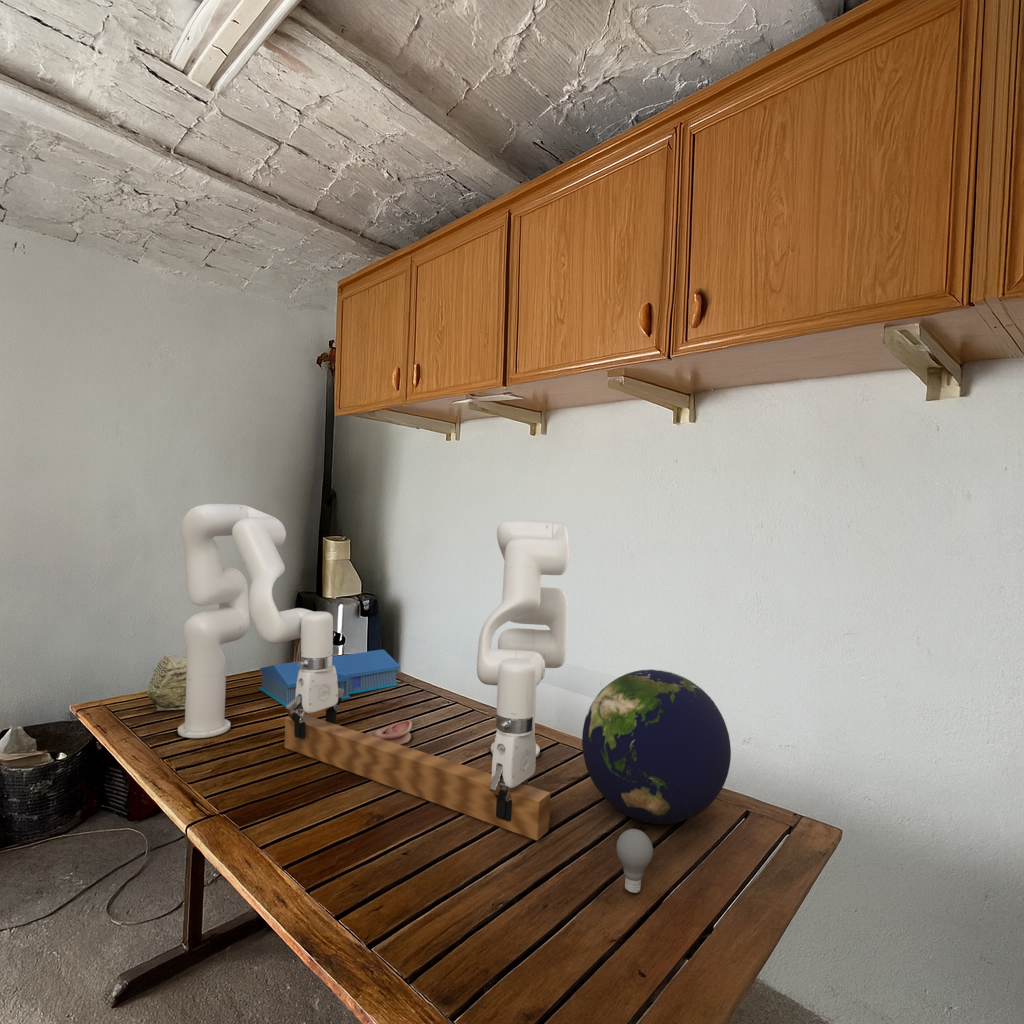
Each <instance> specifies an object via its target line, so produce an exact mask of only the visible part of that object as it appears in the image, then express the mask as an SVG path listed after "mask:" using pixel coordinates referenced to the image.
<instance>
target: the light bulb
mask: <svg viewBox="0 0 1024 1024" xmlns="http://www.w3.org/2000/svg"><path fill="white" fill-rule="evenodd" d="M615 849H616V854H617V857H618V859H619V861H620V863H621V865H622V867H623V873H624V874H623V875H624V876H625V878H624V888H625V890H627V891H628V892H630V893H634V894H635V893H639V892H640V891H641V889H642V887H641V886H642V879H643V877H644V875H645V871H646V868H647V867H648V866H649V864H650V863H651V861H652V859H653V855H654V847H653V843H652V841H651V838H649V836H648V835H647V834H646V833H645V832H643V831H642V830H641V829H636V828H629V829H627V830H625V831H623V832H622V833H621V834H620V835H619V837H618V839H617V841H616V847H615Z"/></svg>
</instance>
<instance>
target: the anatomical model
mask: <svg viewBox="0 0 1024 1024" xmlns="http://www.w3.org/2000/svg"><path fill="white" fill-rule="evenodd" d="M412 728H413V722H412V721H411V720H409V719H408V720H402V721H399V722H395V723H392V724H389V725H386V726H384V727H381V728H378V729H374V730H370V731H367V732H364V733H365V734H368V735H371V736H374V737H377V738H380V739H383V740H387V741H390V742H393V743H396V744H399V745H404V744H406V743H408V742H410V740H411V739H412V734H411V733H410V732H411V730H412Z"/></svg>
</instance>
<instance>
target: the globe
mask: <svg viewBox="0 0 1024 1024" xmlns="http://www.w3.org/2000/svg"><path fill="white" fill-rule="evenodd" d="M581 748H582V756H583V759H584V764H585V767H586V770H587V772H588V775H589V777H590V779H591V781H592V784H593V785H594V786H595V788H596V789H597V791H598V793H600V795H601V796H602V797H603V798H604V799H605V800H606V801H607V802H608V803H609V805H611V806H612V807H613V808H614V809H616V810H618V812H620V813H622V814H623V815H625V816H627V817H629V818H632V819H634V820H636V821H639V822H643V823H646V824H652V825H672V824H673V825H674V824H678V823H682V822H685V821H688V820H690V819H692V818H694V817H697V816H698V815H699V814H700V813H702V812H704V811H705V810H706V809H707V808H708V807H709V806H710V805H712V803H713V802H714V801H715V800H716V799H717V798H718V796H719V795H720V793H721V791H722V789H723V788H724V786H725V783H726V780H727V778H728V776H729V771H730V767H731V760H732V759H731V758H732V750H731V749H732V747H731V738H730V734H729V731H728V727H727V724H726V721H725V719H724V717H723V715H722V712H721V711H720V709H719V708H718V706H717V704H716V703H715V701H714V700H713V699H712V697H710V696H709V694H708V693H707V692H705V690H704V689H702V688H701V687H700V686H698V685H697V684H696V683H694V682H693V681H692V680H690V679H688V678H686V677H684V676H683V675H680V674H677V673H674V672H672V671H668V670H667V671H666V670H663V669H654V668H653V669H640V670H635V671H630V672H627V673H625V674H623V675H621V676H618V677H617V678H615V679H613V680H612V681H611V682H609V683H608V684H606V685H605V686H604V687H603V688H602V689H601V690H600V691H599V693H598V694H597V695H596V696H595V698H594V699H593V701H592V702H591V704H590V706H589V708H588V710H587V713H586V715H585V719H584V722H583V728H582V737H581Z"/></svg>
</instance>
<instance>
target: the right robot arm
mask: <svg viewBox="0 0 1024 1024" xmlns="http://www.w3.org/2000/svg"><path fill="white" fill-rule="evenodd" d="M496 538H497V539H496V540H497V544H498V547H499V550H500V552H501V555H502V558H503V561H504V562H503V563H504V564H503V565H504V566H503V578H502V579H503V581H502V594H501V595H502V597H501V602H500V604H499V605H498V606H497V607H496V608H495V609H494V610H493V611H492V612H491V613H490V614H489V615H488V617H487V618H486V620H485V621H484V623H483V625H482V627H481V630H480V632H479V637H478V647H477V657H476V674H477V679H478V680H479V681H480V683H482V684H483V685H487V686H497V690H496V713H495V731H496V732H495V736H494V737H495V738H494V742H492V744H491V745H490V753H491V754H492V759H491V774H492V784H491V786H490V791H491V792H493V793H494V795H495V798H497V801H496V817H497V818H500V819H503V820H505V821H510V820H511V809H512V800H510V796H511V790H512V788H514V787H516V786H517V785H519V784H520V783H522V784H525V785H528V786H529V783H528V781H529V778H530V777H532V776H533V775H534V774H535V773H536V770H537V769H536V766H537V759H536V758H537V757H538V756H539V755H540V753H541V748H540V746H539V745H538V743H536V742H537V741H536V731H535V730H536V711H537V710H536V709H537V687H538V686H539V684H540V683H541V682H542V680H544V678H545V674H546V669H559V668H562V666H564V664H565V662H566V658H567V649H568V647H567V645H568V617H569V604H568V603H569V602H568V598H567V594H566V593H565V591H564V590H563V589H561V588H557V587H545V586H544V587H543V586H542V576H544V575H545V576H563V575H564V574H566V572H567V570H568V567H569V562H570V546H569V532H568V529H567V526H566V525H565V524H564V523H563V522H560V521H550V520H532V519H508V520H503V521H501V522H500V523H499V524H498V525H497V528H496ZM508 622H511V623H514V624H518V625H519V624H521V625H537V626H547V627H548V628H549V629H536V628H535V629H534V628H520V627H519V628H518V627H517V628H515V627H514V628H513V627H512V628H508V629H505V630H504V631H502V632H501V633H500V634H499V637H498V639H497V648H492V642H493V638H494V635H495V634H496V632H497V630H498V629H499V628H500V627H501V626H503V625H504V624H506V623H508ZM503 779H504V782H503V781H502V780H503ZM502 786H504V787H507V788H506V793H505V791H504V790H502Z"/></svg>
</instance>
